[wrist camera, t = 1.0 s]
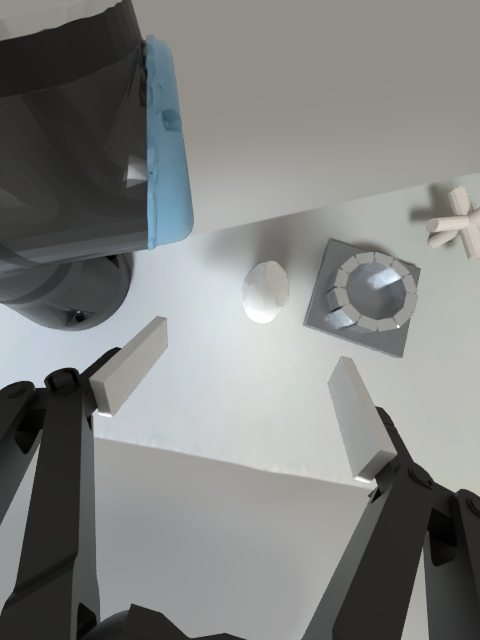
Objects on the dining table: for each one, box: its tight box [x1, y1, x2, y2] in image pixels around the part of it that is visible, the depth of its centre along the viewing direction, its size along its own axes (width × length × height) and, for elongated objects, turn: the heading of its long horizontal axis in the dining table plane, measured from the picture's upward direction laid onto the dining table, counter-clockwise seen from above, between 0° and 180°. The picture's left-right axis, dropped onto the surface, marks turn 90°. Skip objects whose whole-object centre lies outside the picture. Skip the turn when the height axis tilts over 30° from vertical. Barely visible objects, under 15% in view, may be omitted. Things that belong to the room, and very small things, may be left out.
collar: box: [303, 240, 421, 358], centre depth 30 cm, size 14×14×4 cm
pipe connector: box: [426, 186, 480, 260], centre depth 29 cm, size 10×10×10 cm
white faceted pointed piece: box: [243, 261, 289, 323], centre depth 26 cm, size 6×12×6 cm
